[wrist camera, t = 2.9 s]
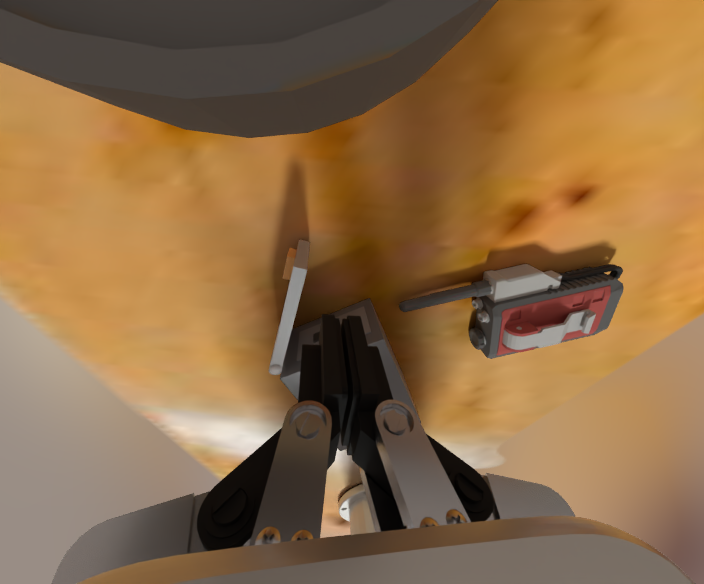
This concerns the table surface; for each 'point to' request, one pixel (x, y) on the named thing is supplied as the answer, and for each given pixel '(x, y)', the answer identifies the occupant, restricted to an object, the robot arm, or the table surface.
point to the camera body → (374, 338)
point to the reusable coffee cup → (235, 55)
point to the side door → (290, 302)
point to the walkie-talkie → (534, 306)
